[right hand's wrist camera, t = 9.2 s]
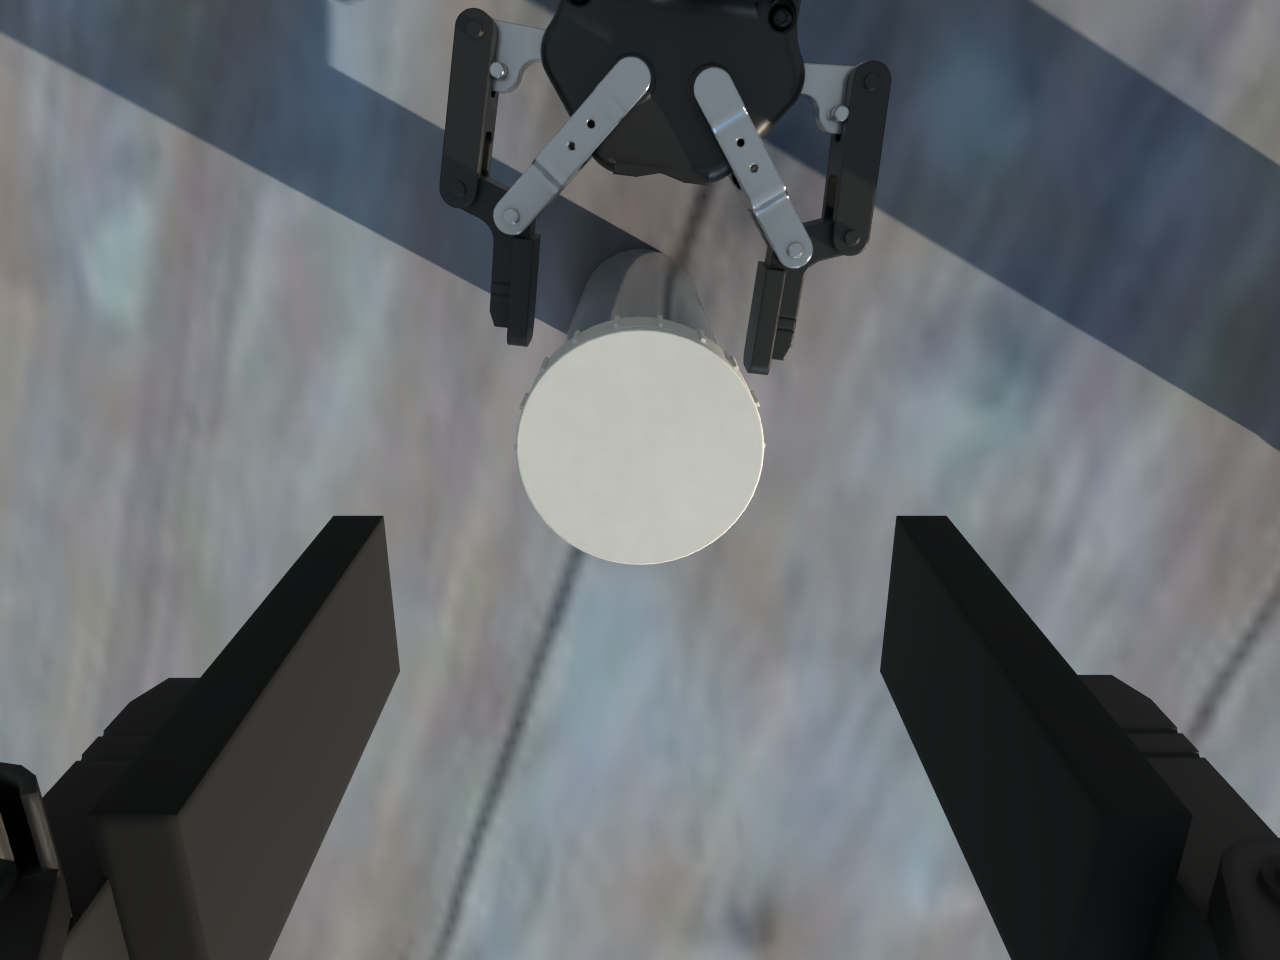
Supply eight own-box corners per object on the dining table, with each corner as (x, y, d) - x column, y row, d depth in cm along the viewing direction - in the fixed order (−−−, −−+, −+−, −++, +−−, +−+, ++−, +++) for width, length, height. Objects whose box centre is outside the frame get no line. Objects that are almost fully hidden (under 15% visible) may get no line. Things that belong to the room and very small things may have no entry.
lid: (601, 577, 24) (599, 607, 22) (475, 390, 22) (463, 408, 20) (798, 471, 23) (810, 495, 21) (683, 266, 21) (686, 275, 19)
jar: (619, 386, 40) (603, 579, 22) (558, 287, 38) (490, 410, 21) (719, 329, 39) (785, 482, 21) (661, 225, 38) (680, 298, 20)
